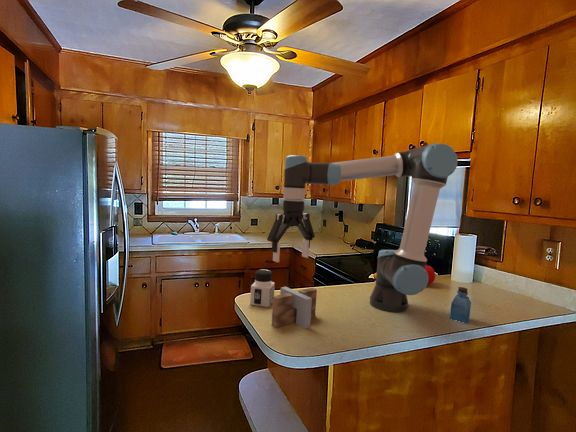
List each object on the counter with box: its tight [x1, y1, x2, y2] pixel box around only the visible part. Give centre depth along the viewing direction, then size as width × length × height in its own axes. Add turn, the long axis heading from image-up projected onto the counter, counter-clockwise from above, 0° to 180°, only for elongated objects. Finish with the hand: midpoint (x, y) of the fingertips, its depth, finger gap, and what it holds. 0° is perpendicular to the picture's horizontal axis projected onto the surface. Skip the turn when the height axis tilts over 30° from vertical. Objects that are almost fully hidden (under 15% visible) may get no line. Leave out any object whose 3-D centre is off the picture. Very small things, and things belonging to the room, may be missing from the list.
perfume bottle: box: [449, 286, 472, 324], centre depth 127 cm, size 6×6×12 cm
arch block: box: [279, 286, 312, 329], centre depth 118 cm, size 14×2×10 cm, turn 39°
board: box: [271, 287, 318, 328], centre depth 118 cm, size 18×2×10 cm, turn 129°
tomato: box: [425, 264, 436, 286], centre depth 170 cm, size 11×12×10 cm
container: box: [249, 268, 275, 308], centre depth 133 cm, size 8×8×13 cm
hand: (290, 259), depth 120 cm, fingers open, 13 cm apart
